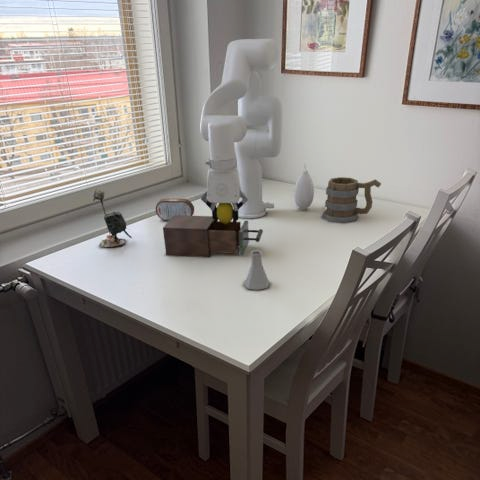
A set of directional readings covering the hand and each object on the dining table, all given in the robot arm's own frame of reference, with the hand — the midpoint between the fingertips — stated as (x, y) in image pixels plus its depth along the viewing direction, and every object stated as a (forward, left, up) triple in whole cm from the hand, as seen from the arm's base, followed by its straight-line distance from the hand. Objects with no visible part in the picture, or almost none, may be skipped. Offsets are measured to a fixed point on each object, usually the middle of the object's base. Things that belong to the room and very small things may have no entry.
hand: (225, 221), depth 150 cm
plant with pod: (+37, -15, -10) cm, 42 cm away
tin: (+15, -35, -10) cm, 40 cm away
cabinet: (+11, -4, -10) cm, 16 cm away
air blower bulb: (-37, -35, -10) cm, 52 cm away
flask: (-5, +27, -10) cm, 29 cm away
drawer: (-2, +1, -9) cm, 10 cm away
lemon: (0, 0, -1) cm, 1 cm away
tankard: (-51, -20, -10) cm, 55 cm away
